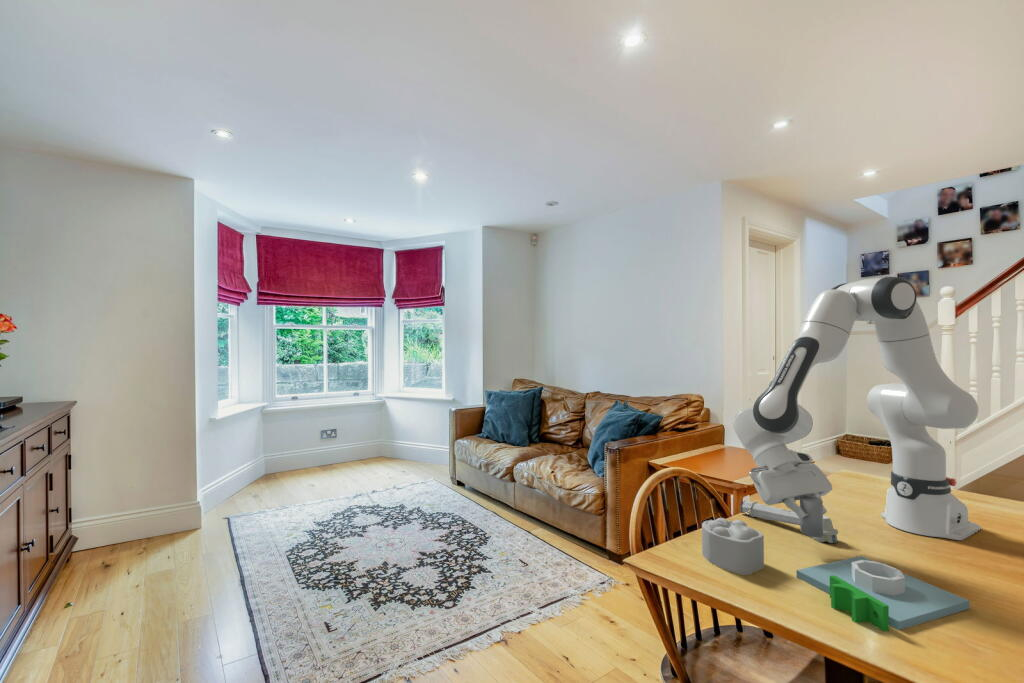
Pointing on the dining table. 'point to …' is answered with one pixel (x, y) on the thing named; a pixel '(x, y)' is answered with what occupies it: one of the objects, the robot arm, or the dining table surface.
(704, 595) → the dining table surface
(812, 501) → the gray domed peg
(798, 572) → the duct base
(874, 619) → the pipe clamp
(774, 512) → the angled head handheld tool
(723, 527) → the lumpy-topped squat cylinder
